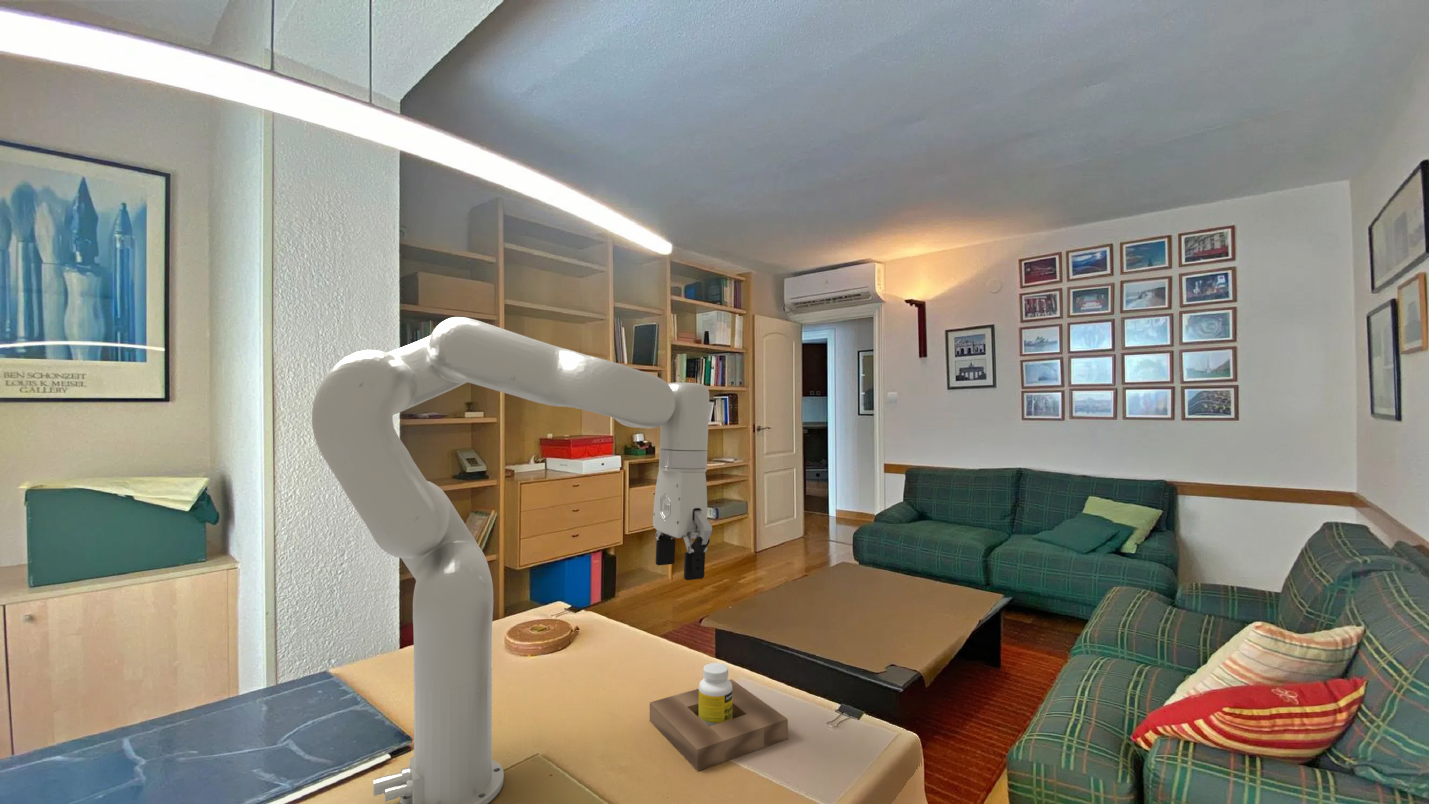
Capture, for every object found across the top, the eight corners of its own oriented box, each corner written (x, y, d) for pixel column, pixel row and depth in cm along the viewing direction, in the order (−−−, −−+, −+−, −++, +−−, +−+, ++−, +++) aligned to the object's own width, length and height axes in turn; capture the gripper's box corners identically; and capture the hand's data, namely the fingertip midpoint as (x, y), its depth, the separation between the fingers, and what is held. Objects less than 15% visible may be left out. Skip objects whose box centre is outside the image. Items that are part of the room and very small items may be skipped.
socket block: (697, 771, 83) (697, 749, 83) (649, 720, 97) (649, 702, 97) (787, 738, 92) (787, 718, 92) (732, 696, 105) (731, 679, 105)
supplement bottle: (729, 740, 91) (729, 676, 91) (695, 737, 92) (694, 673, 92) (735, 722, 96) (734, 661, 97) (702, 719, 98) (702, 659, 98)
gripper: (638, 457, 99) (634, 561, 98) (688, 465, 84) (683, 588, 83) (678, 457, 103) (675, 557, 102) (732, 465, 88) (728, 582, 87)
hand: (678, 571), depth 93 cm, fingers open, 9 cm apart
